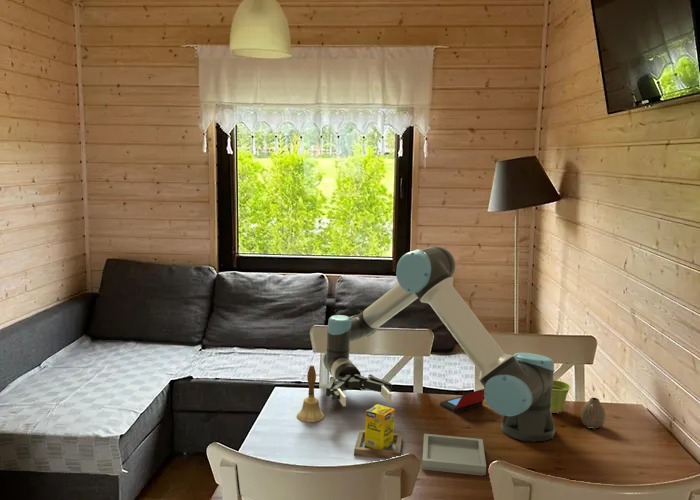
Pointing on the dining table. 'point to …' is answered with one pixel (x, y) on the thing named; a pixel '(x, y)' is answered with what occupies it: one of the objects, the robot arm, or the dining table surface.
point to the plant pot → (558, 395)
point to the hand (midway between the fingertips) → (367, 400)
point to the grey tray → (453, 454)
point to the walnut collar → (377, 452)
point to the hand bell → (311, 402)
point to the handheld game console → (464, 401)
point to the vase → (593, 413)
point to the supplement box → (379, 427)
